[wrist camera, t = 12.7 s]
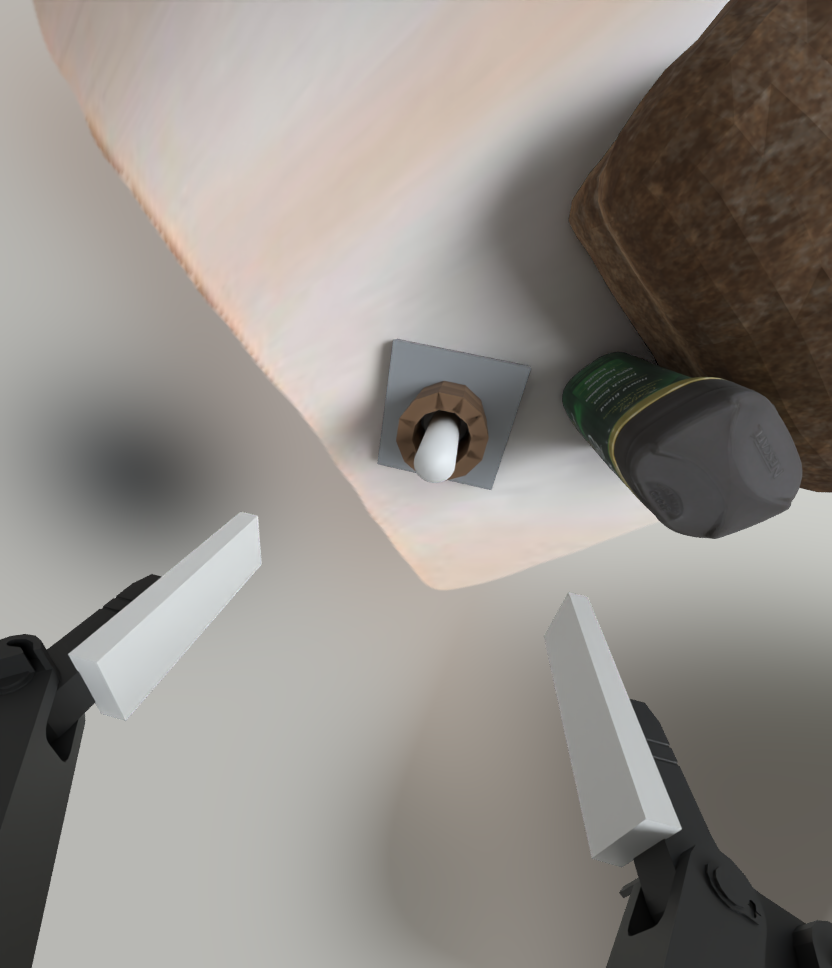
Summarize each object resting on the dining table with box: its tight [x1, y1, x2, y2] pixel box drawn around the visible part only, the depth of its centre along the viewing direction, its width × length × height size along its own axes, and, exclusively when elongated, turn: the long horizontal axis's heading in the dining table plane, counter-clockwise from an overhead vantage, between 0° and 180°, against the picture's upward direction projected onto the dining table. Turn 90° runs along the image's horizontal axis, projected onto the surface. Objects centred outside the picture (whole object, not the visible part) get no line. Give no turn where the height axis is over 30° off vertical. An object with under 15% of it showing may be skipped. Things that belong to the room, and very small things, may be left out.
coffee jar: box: [562, 352, 802, 539], centre depth 26 cm, size 10×8×19 cm
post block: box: [378, 339, 531, 490], centre depth 31 cm, size 14×14×14 cm
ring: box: [396, 381, 489, 481], centre depth 33 cm, size 8×8×6 cm
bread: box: [569, 0, 832, 492], centre depth 22 cm, size 15×32×16 cm, turn 44°
